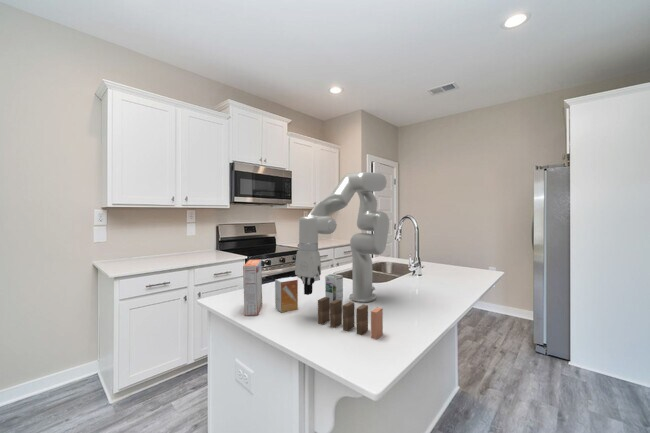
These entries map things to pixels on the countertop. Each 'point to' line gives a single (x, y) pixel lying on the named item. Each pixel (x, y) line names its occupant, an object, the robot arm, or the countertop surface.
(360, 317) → the domino
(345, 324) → the domino
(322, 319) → the domino
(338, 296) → the syrup box
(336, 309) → the domino
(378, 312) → the domino
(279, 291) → the small box
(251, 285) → the cracker box
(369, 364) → the countertop surface
